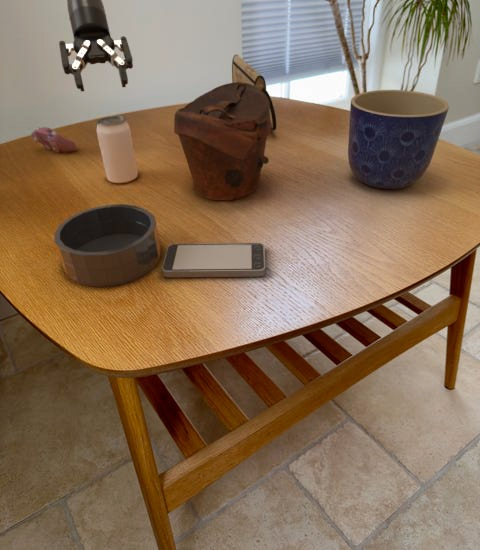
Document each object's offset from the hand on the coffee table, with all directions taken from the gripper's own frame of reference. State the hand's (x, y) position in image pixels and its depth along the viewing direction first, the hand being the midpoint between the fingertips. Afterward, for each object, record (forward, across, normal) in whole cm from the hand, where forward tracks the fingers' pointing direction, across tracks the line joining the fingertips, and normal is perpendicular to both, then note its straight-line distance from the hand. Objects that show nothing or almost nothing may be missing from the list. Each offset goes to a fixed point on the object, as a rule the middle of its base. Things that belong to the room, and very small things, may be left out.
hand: (103, 87), depth 91 cm
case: (+28, +19, -6) cm, 34 cm away
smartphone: (+45, +10, -23) cm, 52 cm away
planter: (+34, +50, -11) cm, 61 cm away
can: (+19, 0, +3) cm, 19 cm away
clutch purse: (+2, +38, +20) cm, 43 cm away
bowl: (+40, -5, -18) cm, 44 cm away
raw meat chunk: (+3, -14, +19) cm, 24 cm away
